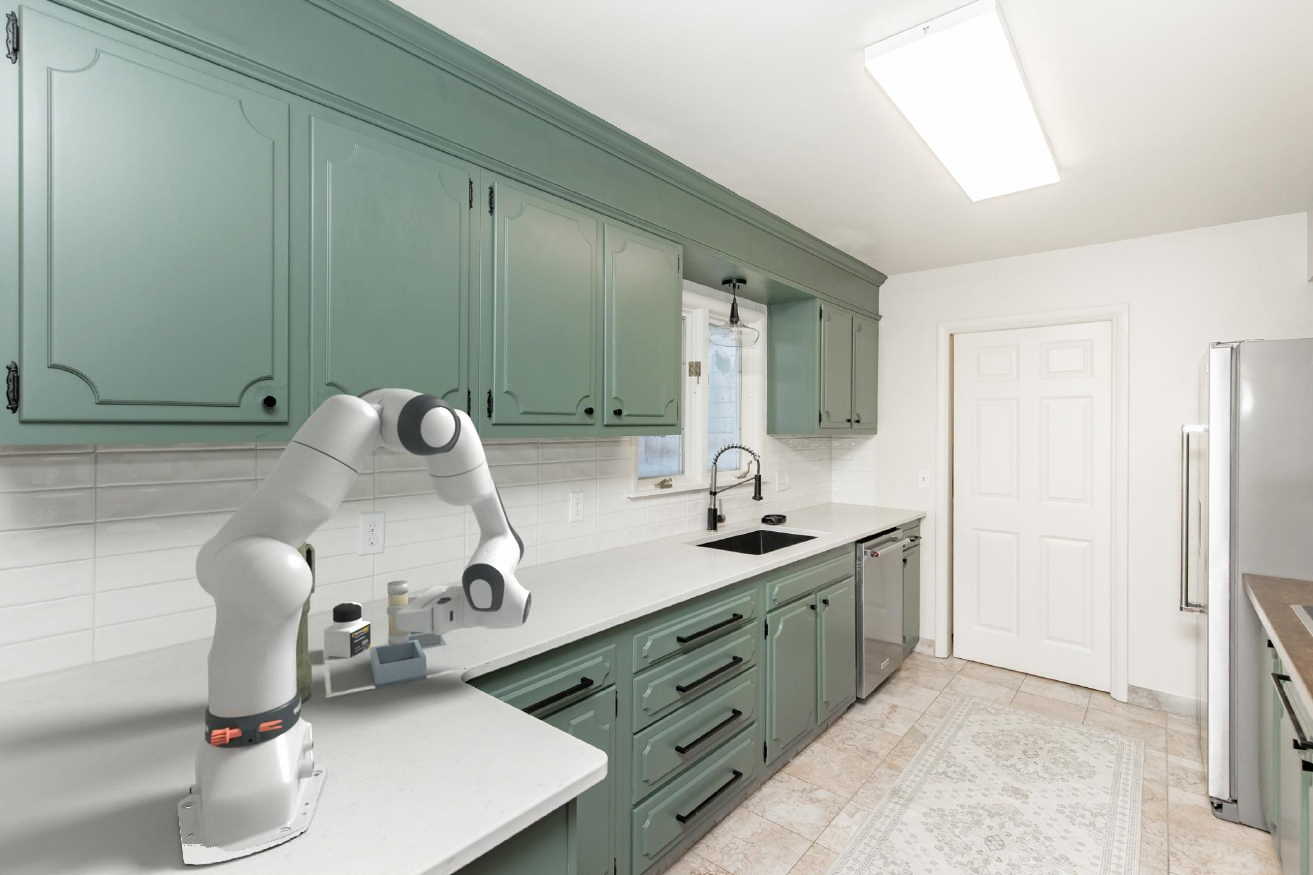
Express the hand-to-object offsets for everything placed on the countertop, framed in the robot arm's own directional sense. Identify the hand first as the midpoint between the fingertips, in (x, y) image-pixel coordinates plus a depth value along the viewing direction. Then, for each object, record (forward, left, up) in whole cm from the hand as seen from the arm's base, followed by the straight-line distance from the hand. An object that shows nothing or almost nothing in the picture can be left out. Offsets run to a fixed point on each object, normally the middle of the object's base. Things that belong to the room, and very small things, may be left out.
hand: (394, 605), depth 135 cm
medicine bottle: (+15, +8, -15) cm, 23 cm away
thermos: (-3, +20, -15) cm, 26 cm away
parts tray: (0, -1, -15) cm, 15 cm away
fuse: (0, -1, -8) cm, 8 cm away
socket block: (+14, -8, -15) cm, 21 cm away
